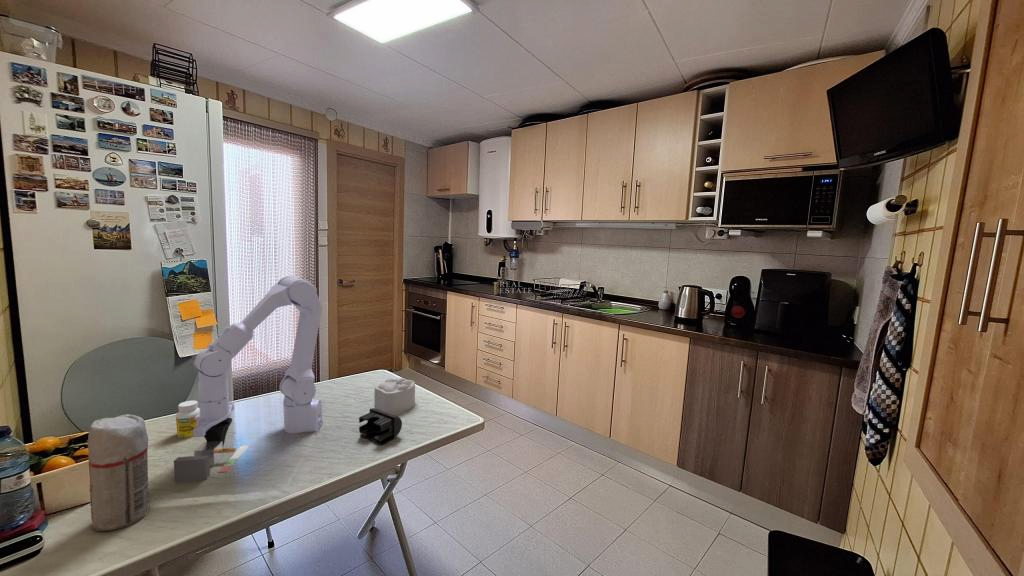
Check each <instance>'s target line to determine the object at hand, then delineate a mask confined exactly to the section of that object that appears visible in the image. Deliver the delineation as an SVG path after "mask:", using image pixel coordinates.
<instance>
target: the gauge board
mask: <svg viewBox="0 0 1024 576" xmlns="http://www.w3.org/2000/svg"><path fill="white" fill-rule="evenodd" d="M249 447H250V445H241V446H240V447H239V448H237V449H236V451H235V452H233V455H232V456H231V457H230V458H229V459H228V460H227V461H226V462H225V463H224V465H223V466H222V467H221V468H220V469H219V470H218V471H217V473H219V474H220V473H227V472H229V470H230V469H231V468H232V466H234V464H235V463H236V462H237V461H238V460H239V459H240V457H241V456H242V455H243V453H245V451H246V450H247V449H248V448H249ZM210 467H211V466H209V455H205V456H191V455H190V456H179V457H178V456H177V458H175V459H174V460H173V472H174V482H175V483H179V482H183V483H184V482H192V481H193V482H196V481H197V482H198V481H206V480H208V479H209V477H211V471H210V470H211V469H210Z"/></svg>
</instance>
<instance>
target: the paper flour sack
mask: <svg viewBox="0 0 1024 576" xmlns="http://www.w3.org/2000/svg"><path fill="white" fill-rule="evenodd" d="M87 437H88V438H87V449H88V450H87V451H88V472H89V473H88V474H89V493H90V494H89V496H90V500H89V501H90V504H89V505H90V510H91V511H90V514H91V515H90V517H91V523H92V524H91V530H92V531H96V532H105V531H106V532H107V531H112V530H118V529H121V528H122V529H123V528H125V527H129V526H130V525H132V524H134V523H136V522H139V521H140V520H142V519H143V518H144V517H145V516H146V514H148V511H149V509H150V506H149V505H150V501H149V499H150V498H149V497H150V496H149V494H150V492H149V474H148V473H149V472H148V470H149V468H148V467H149V465H148V463H149V461H148V457H149V456H148V449H149V448H148V446H149V435H148V433H147V427H146V422H145V419H144V418H142V417H140V416H138V415H134V414H128V413H127V414H122V415H117V416H115V417H103V418H100V419H96V420H94V421H93V422H92V423H91V424H90V426H89V431H88V436H87Z"/></svg>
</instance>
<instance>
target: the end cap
mask: <svg viewBox="0 0 1024 576" xmlns="http://www.w3.org/2000/svg"><path fill="white" fill-rule="evenodd" d="M365 421H366V423H364V424H362V425H360V426H359V427H358V431H359V434H360V435H359V437H360V438H362V439H363V440H367V441H369V442H371V443H373V444H376V445H378V446H380V447H381V446H384V445H387V444H389V443H391V442H392V441H393V440H395V439H396V437H397V436H398V435H399V434H400V433H401V431H402V426H403V422H402V418H401V417H399V416H397V415H395V414H393V415H391V414H389V413H386V412H383V411H380V410H378V409H375V407H371V408H369V412H368V413H366V414H364V415H361V416H359V418H358V423H359V424H361V423H362V422H365Z"/></svg>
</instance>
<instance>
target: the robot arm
mask: <svg viewBox="0 0 1024 576" xmlns="http://www.w3.org/2000/svg"><path fill="white" fill-rule="evenodd" d="M317 291H318V288H317V286H315V285H314V284H312V282H311V281H309V280H308V279H301V278H297V277H295V276H292V275H291V276H284V277H282V278H281V279H279V280H278V281H277V283H275V284H273V285H272V286H271V287H270V289H269V291H267V293H266V295H264V297H263V298H261V299H260V301H259V302H258V303H257V304H256V305H255V306H254V307H253V308H252V310H251V311H250V312H249V313H248V314H247V315H246V316H245V318H244V319H242V321H241V322H236V323H231V324H230V325H229V326H225V327H224V328H222V331H223V332H222V333H221V334H220V335H219V336H218V337H217V338H216V339H215V340H214V341H213V342H212V343H208V345H206V349H203V350H201V351H199V352H198V353H197V355H196V356H195V360H194V361H193V365H194V367H195V368H196V370H197V369H198V372H197V374H198V375H197V377H198V381H197V384H198V385H197V386H198V403H199V404H198V406H199V408H200V414H198V415H197V416H196V417H195V420H198V423H197V425H196V427H195V428H194V429H193V435H194V436H193V438H204V439H205V440H206V441H205V442H213V441H223V447H224V445H225V441H226V436H227V433H228V430H229V428H230V426H231V424H232V422H233V418H231V414H232V411H234V410H235V402H230V401H229V399H230V398H229V397H230V396H229V394H230V393H229V378H228V372H227V371H229V369H230V368H231V365H232V360H233V359H234V358H235V357H236V356H237V355H238V354H239V353H240V352H241V351H242V350H243V349H244V348H245V346H247V345H248V343H250V341H251V340H252V339H253V338H254V330H255V329H256V328H257V327H258V326H259V325H260V324H261V323H263V322H264V321H265V320H266V319H267V318H268V317H269V316H270V315H272V313H273V312H274V311H275V310H276V309H278V308H280V307H287V306H291V305H293V306H294V307H295V308H296V309H297V310H298V311H299V316H298V321H297V322H298V323H297V327H296V335H295V340H294V345H293V350H292V356H291V362H290V366H289V367H288V368H287V369H286V370H285V374H284V376H283V378H282V380H281V381H280V383H279V391H280V393H281V394H282V395H284V398H283V401H282V403H283V404H282V405H283V428H284V429H283V430H284V432H285V433H288V434H300V433H306V432H309V433H310V432H315V433H314V435H313V436H314V437H315V436H317V434H318V432H319V430H320V428H321V427H322V425H323V423H324V422H323V405H322V400H321V399H316V398H315V396H316V394H317V388H316V385H315V380H316V378H315V374H314V371H313V367H312V366H313V362H314V356H315V350H316V346H317V345H316V344H317V338H318V334H319V328H320V327H319V326H320V322H321V316H322V310H323V306H322V304H321V301H320V298H319V295H318V293H317Z"/></svg>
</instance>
